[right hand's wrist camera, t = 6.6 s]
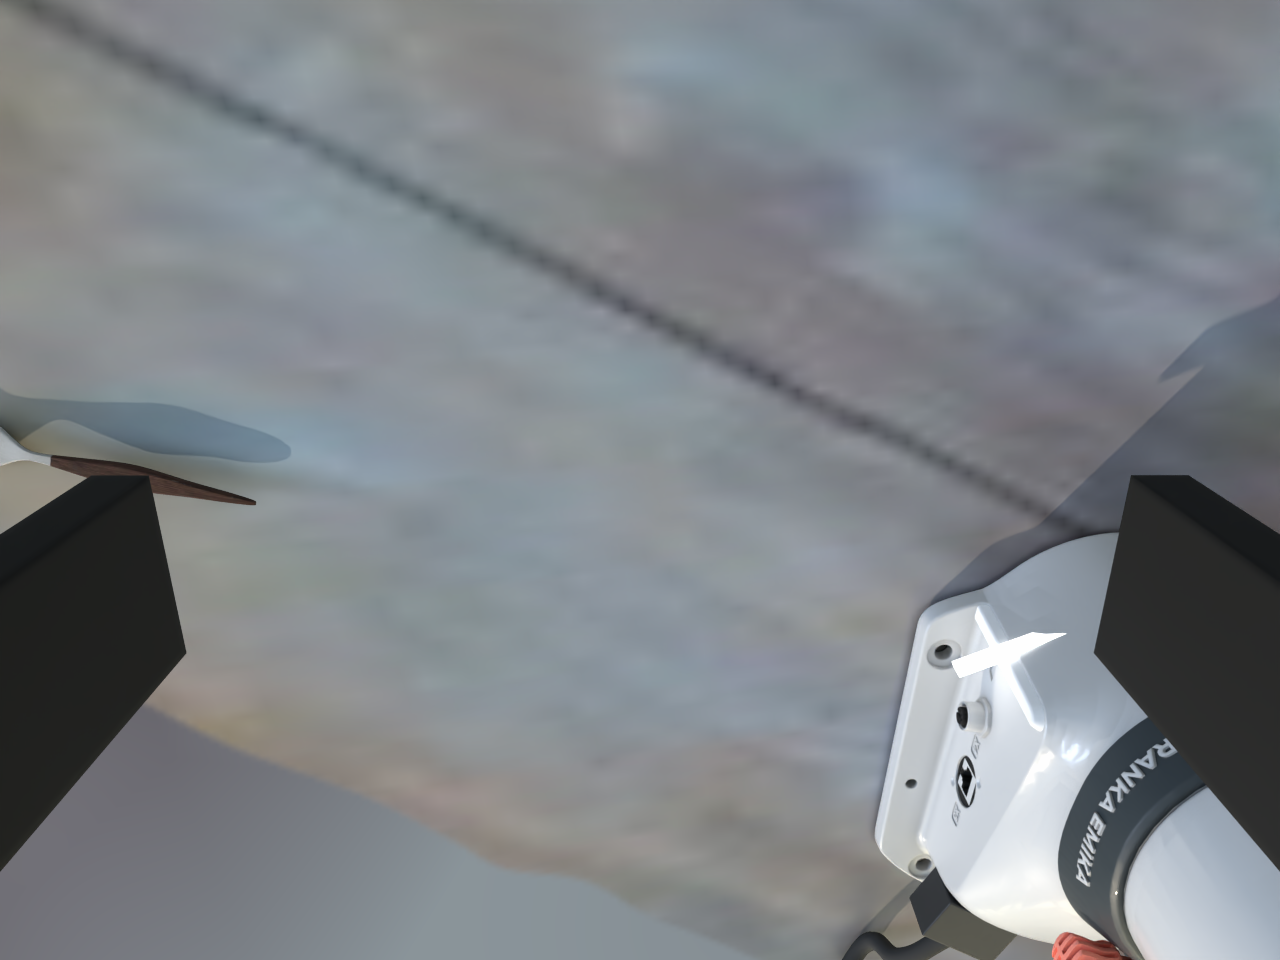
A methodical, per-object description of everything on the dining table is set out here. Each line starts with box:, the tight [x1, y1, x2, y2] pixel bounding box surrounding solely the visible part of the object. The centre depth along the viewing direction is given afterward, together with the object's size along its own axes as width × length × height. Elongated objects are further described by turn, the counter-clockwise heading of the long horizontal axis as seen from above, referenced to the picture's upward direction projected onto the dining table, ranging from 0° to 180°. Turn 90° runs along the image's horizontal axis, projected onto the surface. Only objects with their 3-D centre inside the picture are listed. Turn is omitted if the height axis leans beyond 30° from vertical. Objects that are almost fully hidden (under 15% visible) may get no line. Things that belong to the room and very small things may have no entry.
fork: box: [0, 426, 256, 505], centre depth 41 cm, size 3×16×2 cm, turn 77°
